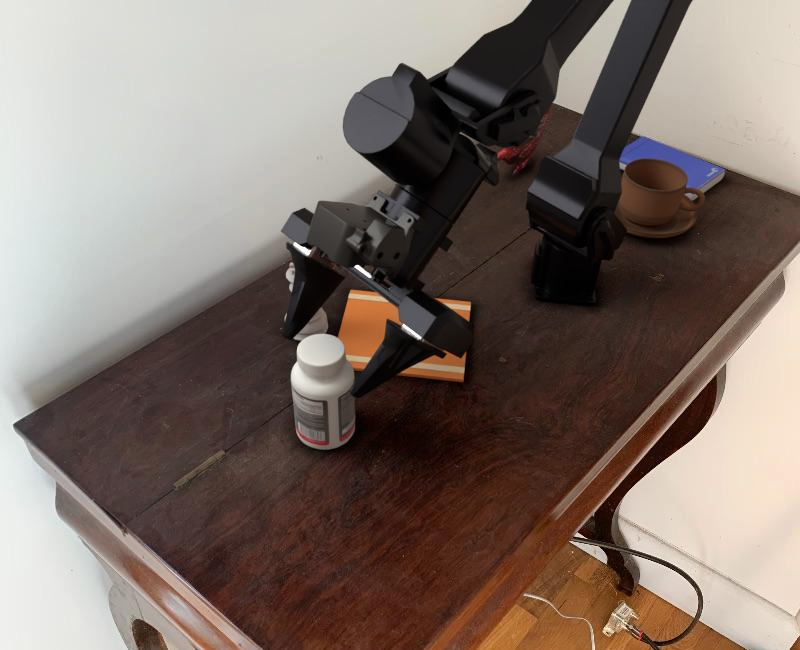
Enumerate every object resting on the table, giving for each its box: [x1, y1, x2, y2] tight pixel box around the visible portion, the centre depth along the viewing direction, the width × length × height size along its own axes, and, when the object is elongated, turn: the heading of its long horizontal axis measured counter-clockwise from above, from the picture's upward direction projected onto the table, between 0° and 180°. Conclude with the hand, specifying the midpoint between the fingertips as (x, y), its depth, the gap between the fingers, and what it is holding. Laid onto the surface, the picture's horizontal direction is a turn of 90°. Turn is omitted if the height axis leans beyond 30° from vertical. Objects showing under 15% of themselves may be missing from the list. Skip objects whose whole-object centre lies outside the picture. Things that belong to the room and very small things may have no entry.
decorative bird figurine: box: [497, 105, 552, 176], centre depth 101 cm, size 3×18×10 cm, turn 149°
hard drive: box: [619, 135, 726, 201], centre depth 106 cm, size 2×8×12 cm
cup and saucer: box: [614, 158, 706, 239], centre depth 96 cm, size 12×12×6 cm
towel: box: [337, 289, 472, 383], centre depth 82 cm, size 13×12×1 cm
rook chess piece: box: [284, 262, 329, 342], centre depth 79 cm, size 4×4×8 cm
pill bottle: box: [290, 333, 356, 451], centre depth 69 cm, size 5×5×10 cm
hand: (319, 366), depth 67 cm, fingers open, 9 cm apart
